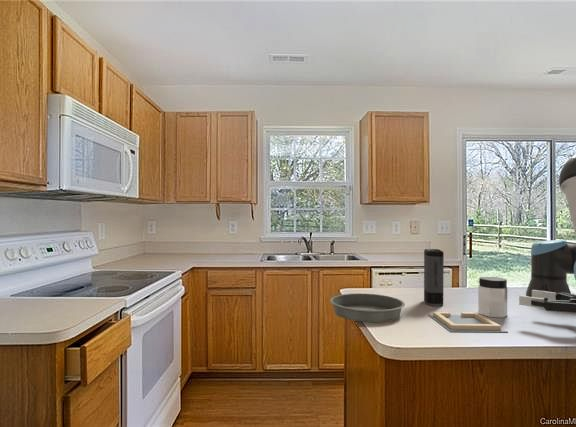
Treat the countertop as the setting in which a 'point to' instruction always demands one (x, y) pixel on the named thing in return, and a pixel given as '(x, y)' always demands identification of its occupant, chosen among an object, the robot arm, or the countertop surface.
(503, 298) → the jar
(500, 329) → the beige flat piece
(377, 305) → the cake pan
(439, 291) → the electronic device
